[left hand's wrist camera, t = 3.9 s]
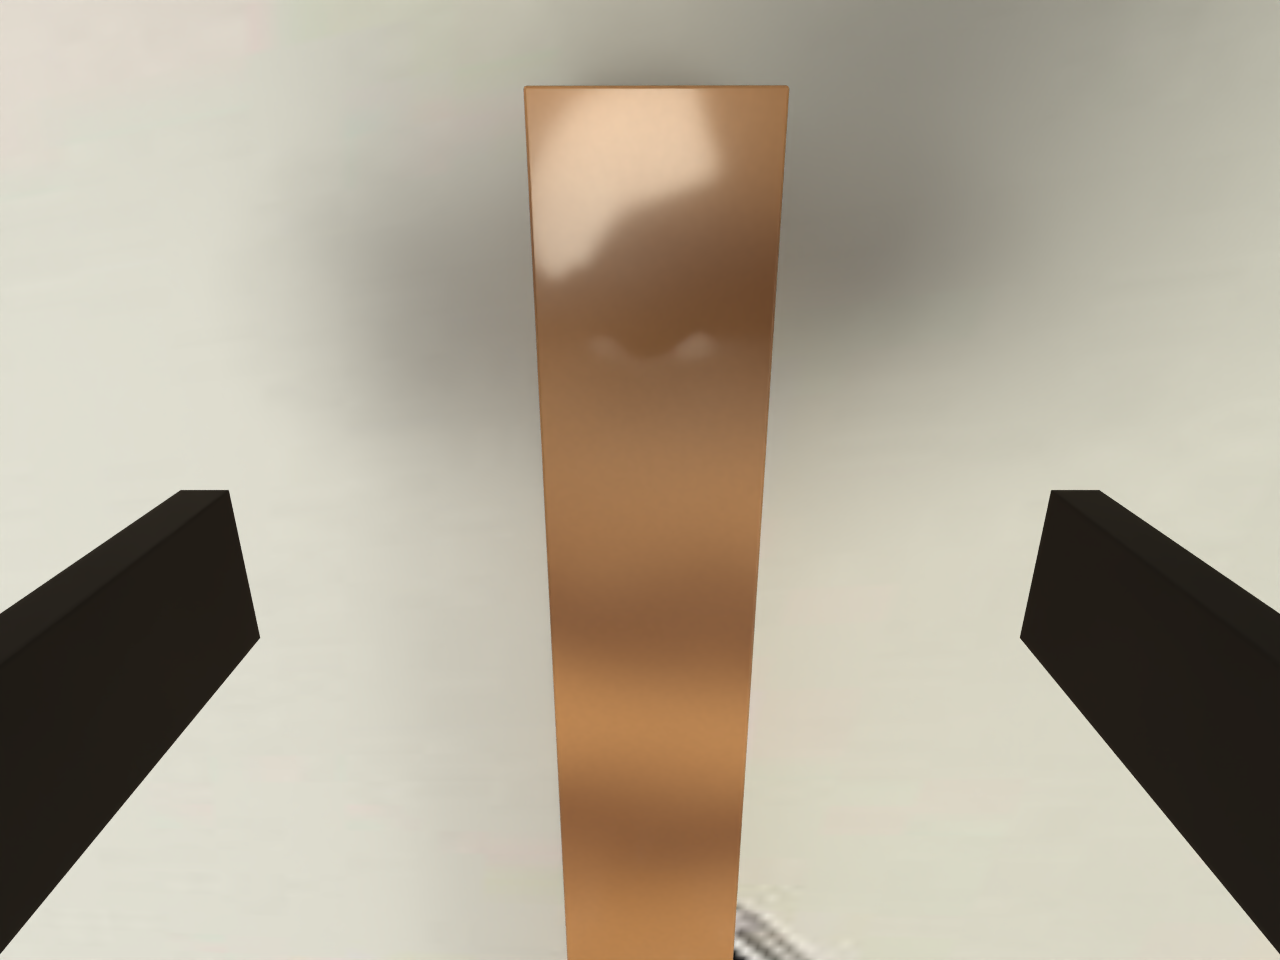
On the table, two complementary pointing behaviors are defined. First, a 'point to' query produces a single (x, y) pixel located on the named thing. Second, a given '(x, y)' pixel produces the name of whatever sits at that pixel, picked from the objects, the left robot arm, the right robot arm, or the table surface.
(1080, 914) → the table surface
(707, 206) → the wooden beam
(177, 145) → the table surface
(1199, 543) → the table surface
